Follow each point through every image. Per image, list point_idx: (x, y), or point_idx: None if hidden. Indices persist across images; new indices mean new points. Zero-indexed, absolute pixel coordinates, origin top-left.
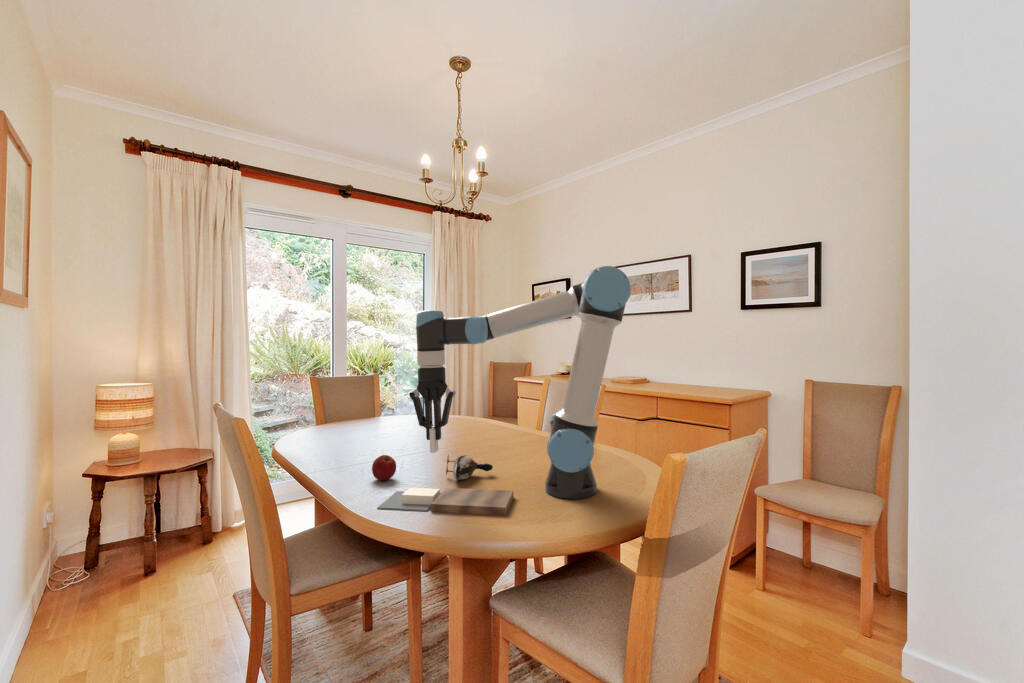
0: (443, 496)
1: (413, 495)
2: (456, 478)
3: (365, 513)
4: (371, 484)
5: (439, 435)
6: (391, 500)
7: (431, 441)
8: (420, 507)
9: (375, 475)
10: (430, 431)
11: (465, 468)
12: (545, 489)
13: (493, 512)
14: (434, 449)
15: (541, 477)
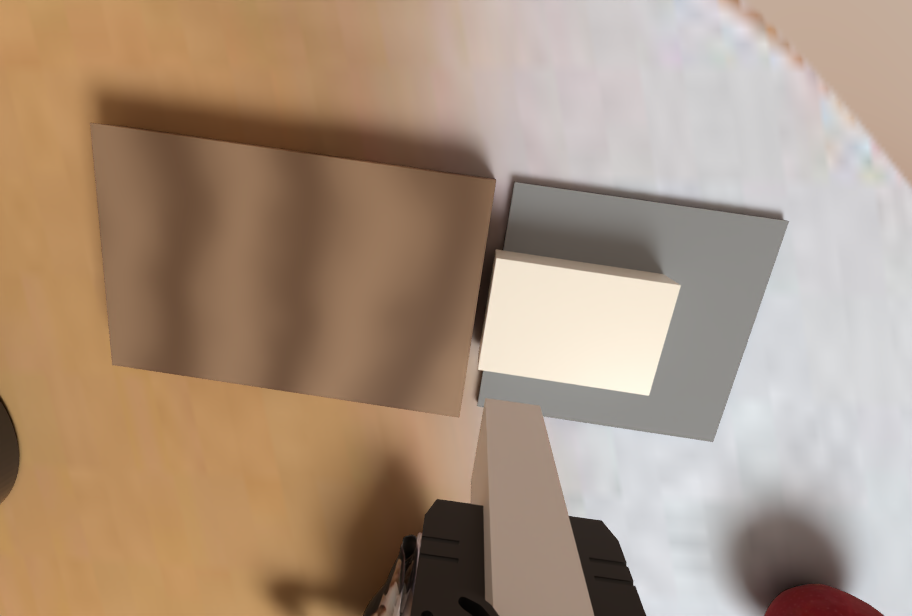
0: (447, 293)
1: (610, 274)
2: None
3: (841, 157)
4: (856, 550)
5: (422, 543)
6: (724, 317)
7: (536, 476)
8: (555, 215)
9: (864, 602)
10: (570, 592)
11: (380, 602)
12: (9, 429)
13: (172, 133)
14: (494, 416)
15: (73, 584)
